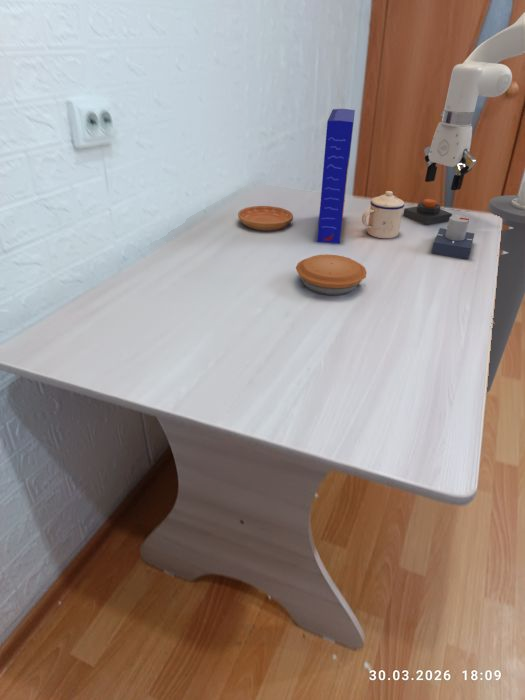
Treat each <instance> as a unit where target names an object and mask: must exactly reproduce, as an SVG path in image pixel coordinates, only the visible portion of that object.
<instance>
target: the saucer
mask: <svg viewBox="0 0 525 700" xmlns="http://www.w3.org/2000/svg"><path fill="white" fill-rule="evenodd" d="M237 218H238V220H239V221H240V222H241V223H242V224H243V225H244V226H246V227H247V228H250V229H253V230H256V231H264V232H265V231H277V230H281V229H284V228H285V227H286V226H288V225H289V224H290V223H291V222H292V221H293V218H294V214H293V212H291V211H290V210H288V209H286V208H282V207H280V206H279V207H278V206H272V205H253V206H248V207H244V208H242V209H240V210H239V211H238V213H237Z"/></svg>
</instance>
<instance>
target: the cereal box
mask: <svg viewBox="0 0 525 700" xmlns="http://www.w3.org/2000/svg"><path fill="white" fill-rule="evenodd" d="M355 113H356V110H355V109H349V108H333V109H331V112H330V114H329V117H328V119H327V120H326V121H327V122H326V131H325V132H326V133H325V143H324V144H325V145H324V156H323V168H322V181H321V190H320V203H319V214H318V227H317V238H316V239H317V240H316V242H317V243H326V244H327V243H328V244H340V243H341V235H342V227H343V219H344V212H345V211H344V210H345V203H346V192H347V185H348V176H349V166H350V157H351V148H352V140H353V130H354V123H355V122H354V121H355Z"/></svg>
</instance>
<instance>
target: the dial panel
mask: <svg viewBox="0 0 525 700" xmlns="http://www.w3.org/2000/svg"><path fill="white" fill-rule="evenodd" d="M446 231H447V228H441V227H440V228H439V229H438V232H437V234H436V236H435V238H434V241H433V244H432V249H431V254H433V255H440V256H446V257H451V258H457V259H463V260H469V257H470V254H471V250H472V246H473V241H474V237H475V232H469V231H466V235H465V239H464V240H461V241H455V240H450V239H448V238H446V237H445V235H446Z"/></svg>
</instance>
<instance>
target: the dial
mask: <svg viewBox="0 0 525 700" xmlns="http://www.w3.org/2000/svg"><path fill="white" fill-rule="evenodd" d="M469 223H470V218H468V217H467V216H462V215H452V216H451V217H450V218H449V221H447V226H446V229H447V231H446V235H445V237H446V238H448V239H450V240H455V241H461V240H464V239H465V235H466V232H468V227H469Z"/></svg>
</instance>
